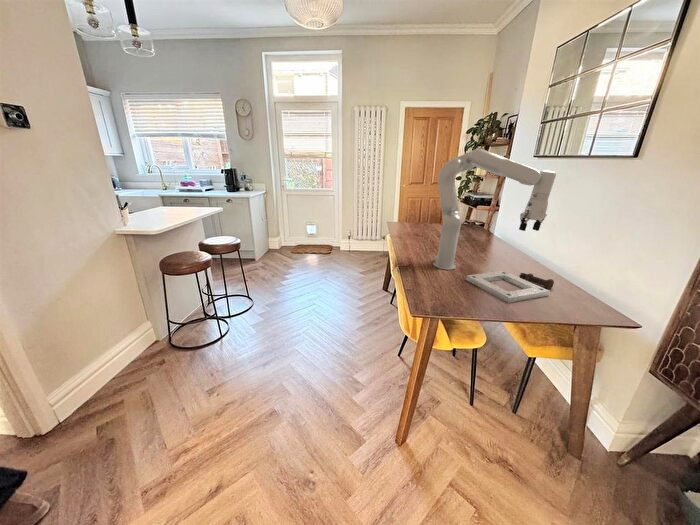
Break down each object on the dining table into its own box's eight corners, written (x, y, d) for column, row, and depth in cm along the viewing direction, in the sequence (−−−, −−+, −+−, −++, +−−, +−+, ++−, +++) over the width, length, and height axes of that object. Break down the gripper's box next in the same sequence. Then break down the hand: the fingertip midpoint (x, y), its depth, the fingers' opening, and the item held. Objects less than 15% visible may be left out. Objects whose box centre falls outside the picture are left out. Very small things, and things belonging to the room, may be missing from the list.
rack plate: (465, 279, 143) (466, 275, 142) (502, 274, 152) (503, 270, 151) (508, 302, 120) (509, 297, 119) (548, 295, 129) (550, 290, 128)
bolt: (519, 281, 149) (549, 291, 137) (516, 278, 146) (546, 288, 134) (525, 272, 149) (555, 281, 136) (521, 268, 146) (552, 278, 134)
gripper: (533, 197, 129) (523, 232, 135) (558, 198, 135) (547, 231, 141) (520, 195, 136) (510, 228, 142) (544, 196, 142) (534, 228, 148)
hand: (528, 230), depth 142 cm, fingers open, 9 cm apart
